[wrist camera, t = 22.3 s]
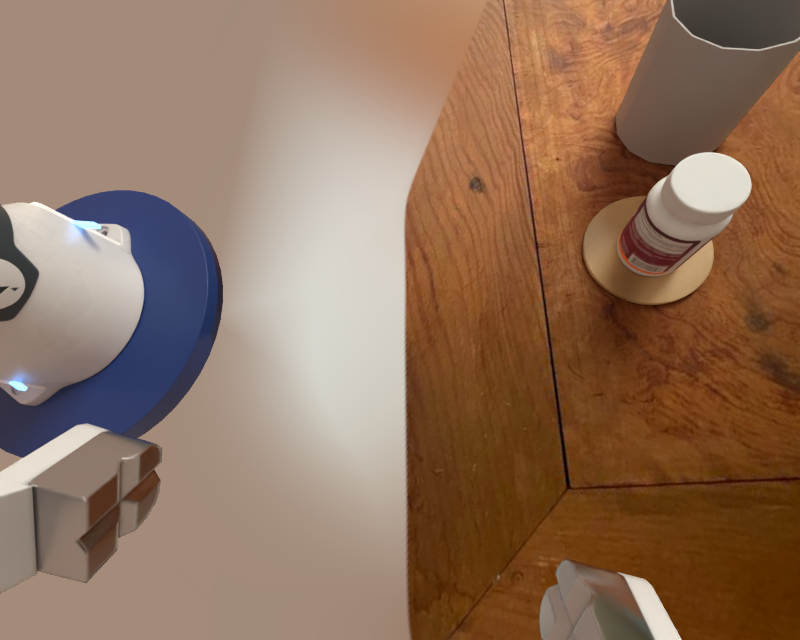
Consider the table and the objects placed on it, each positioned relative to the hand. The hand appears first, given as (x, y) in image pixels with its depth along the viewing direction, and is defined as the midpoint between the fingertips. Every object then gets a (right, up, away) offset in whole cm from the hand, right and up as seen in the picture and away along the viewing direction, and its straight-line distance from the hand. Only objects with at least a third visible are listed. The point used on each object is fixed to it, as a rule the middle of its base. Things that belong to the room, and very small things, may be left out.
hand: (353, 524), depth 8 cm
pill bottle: (+20, +9, +22) cm, 31 cm away
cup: (+24, +21, +25) cm, 40 cm away
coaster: (+20, +9, +23) cm, 32 cm away
